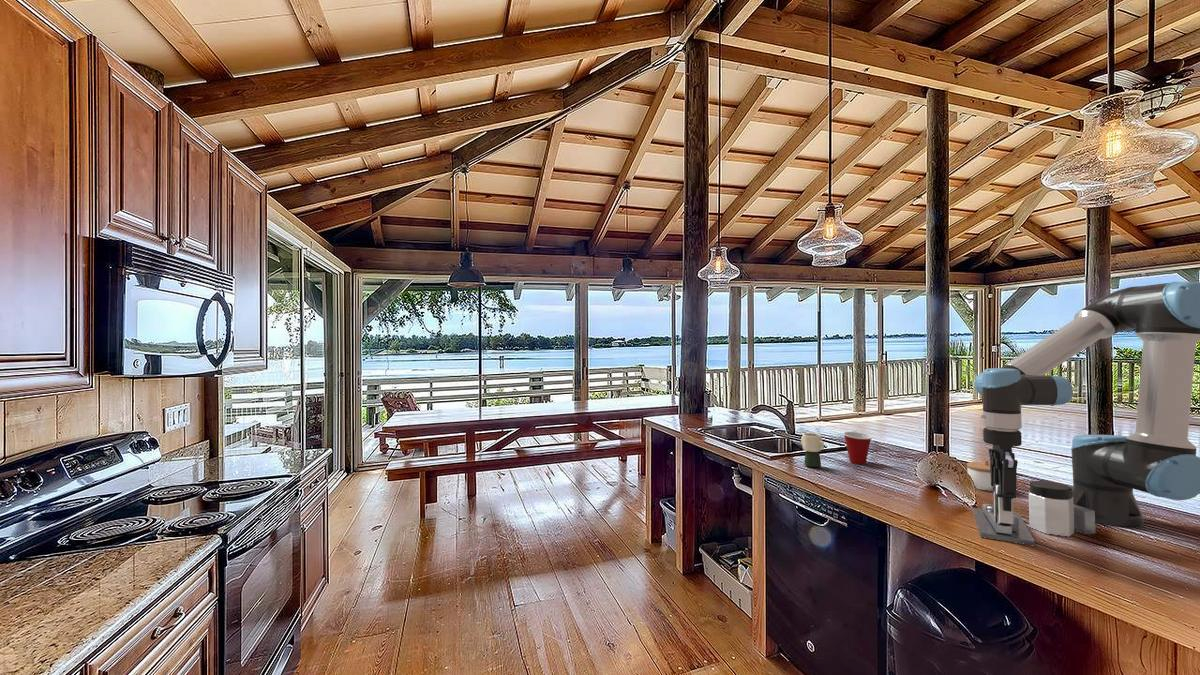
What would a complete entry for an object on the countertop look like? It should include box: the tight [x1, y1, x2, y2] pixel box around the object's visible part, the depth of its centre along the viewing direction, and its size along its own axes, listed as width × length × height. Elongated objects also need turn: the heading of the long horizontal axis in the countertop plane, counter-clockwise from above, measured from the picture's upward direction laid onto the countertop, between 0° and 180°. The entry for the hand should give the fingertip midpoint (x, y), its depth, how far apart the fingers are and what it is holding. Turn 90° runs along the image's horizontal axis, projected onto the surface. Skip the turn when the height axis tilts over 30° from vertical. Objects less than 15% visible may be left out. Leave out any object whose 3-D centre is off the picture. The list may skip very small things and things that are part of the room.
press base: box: [972, 507, 1036, 547], centre depth 128 cm, size 10×22×1 cm, turn 146°
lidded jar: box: [966, 460, 995, 492], centre depth 161 cm, size 11×11×9 cm
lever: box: [982, 483, 1019, 534], centre depth 128 cm, size 18×5×12 cm, turn 150°
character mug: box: [800, 432, 825, 468], centre depth 192 cm, size 11×7×13 cm, turn 24°
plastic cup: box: [842, 431, 873, 465], centre depth 196 cm, size 11×11×12 cm
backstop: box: [1074, 505, 1096, 535], centre depth 127 cm, size 3×8×6 cm, turn 8°
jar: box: [1028, 480, 1075, 538], centre depth 126 cm, size 9×8×12 cm
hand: (1003, 520), depth 121 cm, fingers closed on lever, 3 cm apart
